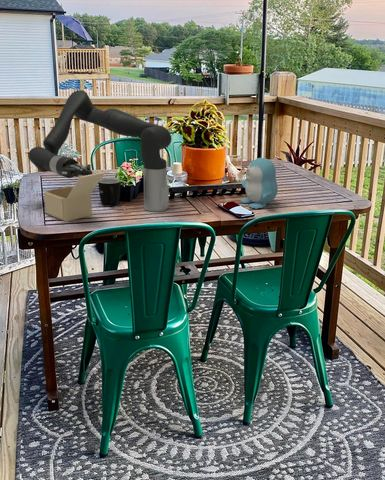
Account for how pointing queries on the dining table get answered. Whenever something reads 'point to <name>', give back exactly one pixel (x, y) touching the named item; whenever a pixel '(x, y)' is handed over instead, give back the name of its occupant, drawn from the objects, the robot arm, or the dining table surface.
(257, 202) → the toy
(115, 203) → the mug
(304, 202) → the dining table surface
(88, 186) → the front flap
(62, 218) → the carton
